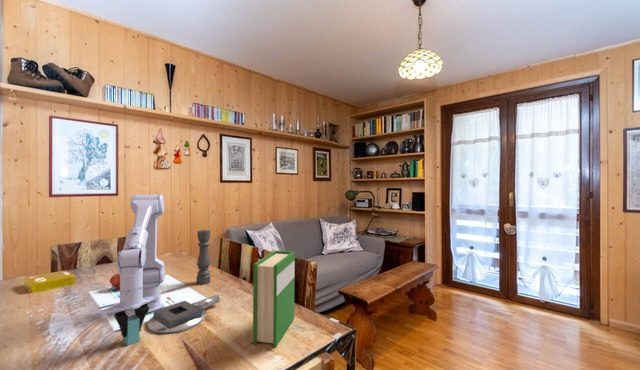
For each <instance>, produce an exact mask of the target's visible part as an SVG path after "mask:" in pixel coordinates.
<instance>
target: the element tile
mask: <svg viewBox="0 0 640 370" xmlns="http://www.w3.org/2000/svg"><path fill="white" fill-rule="evenodd" d="M75 284H76V275H75V274H74V273H71V272H69V271H67V270H59V271H55V272H50V273H45V274H40V275H35V276H28V277H25V278H24V279H23V288H24V287H25V288H26V289H28V290H29V291H30V292H38V293H41V292H40V291H42V292H46V291H50V290H54V289H55V290H56V289H58V288H64V287H66V286H67V287H68V286H72V285H75ZM25 288H24V289H25ZM26 289H25V290H26ZM28 290H27V291H28ZM29 291H28V292H29ZM30 292H29V293H30Z"/></svg>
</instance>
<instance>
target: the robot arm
mask: <svg viewBox="0 0 640 370" xmlns="http://www.w3.org/2000/svg"><path fill="white" fill-rule="evenodd" d="M130 209H131V211H132V213H133V214H134V220H133V227H132V228H131V229H129V230H128V231H127V235H126V238H125V240H124V241H125V242H124V245H123V248H122V250H120V251H118V253H117V258H116V266H117V270H118V272H117V274H119V275H120V290H119V303H117V304H114V305H112V306H110V307H107V308H104V309H101V311H100V317H101V318H102V320H106V319H107V318H108V317H110V316H113V317H114V318H115V320H116V322H117V324H118V326H119V329H120V332H121V336H122V338H123V337H126V336H127V321H128V316H129V314H127V311H130V310H134V315H136V316H137V317H139V318H140V325H139V333H140V332H141V330H142V326H143V323H144V320H145V317H147V316H146V315H147V314H148V313H151V312H153V311H155V310H158V309H161V308H164V307H166V306H165V305H164V304H163V303H161V284H163V283H164V281H165V279H166V268H165V262H164V261H163V260H161V259H160V258H158V256H157V252H158V251H157V250H158V220H159V217H160V216H163V215H164V212H165V198H164V195H163V194H161V193H159V194H136V193H135V194H133V195H132V196H131V198H130Z"/></svg>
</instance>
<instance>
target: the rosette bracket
mask: <svg viewBox="0 0 640 370" xmlns="http://www.w3.org/2000/svg"><path fill="white" fill-rule="evenodd" d="M220 300H221V299H220V296H219V295H218V294H216V295H212V296H209V297H207V298H204V299H201V300H198V301H194V302H193V303H192V302H191V303H190V302H188V301H186V300H183V301H180V302H176V303H173V304H170V305H167V306H165V307H163V308H160V309H157V310H154V311H152V312H153V313H152V315H153V316H152V317H150V318H149V320H148V322H147V329H148V330H149V331H150V332H152V333H154V334H160V335H167V334H168V335H169V334H176V333H180V332H181V333H182V332H185V331H187V330H190V329H193V328H195V327H196V326H199V325H200V324H202V323H203V321H204V320H205V319H206V316H207V315H206V314H207V313H206V310H205V308H207V307H210V306H214V305H216V304H218V303H220Z"/></svg>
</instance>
